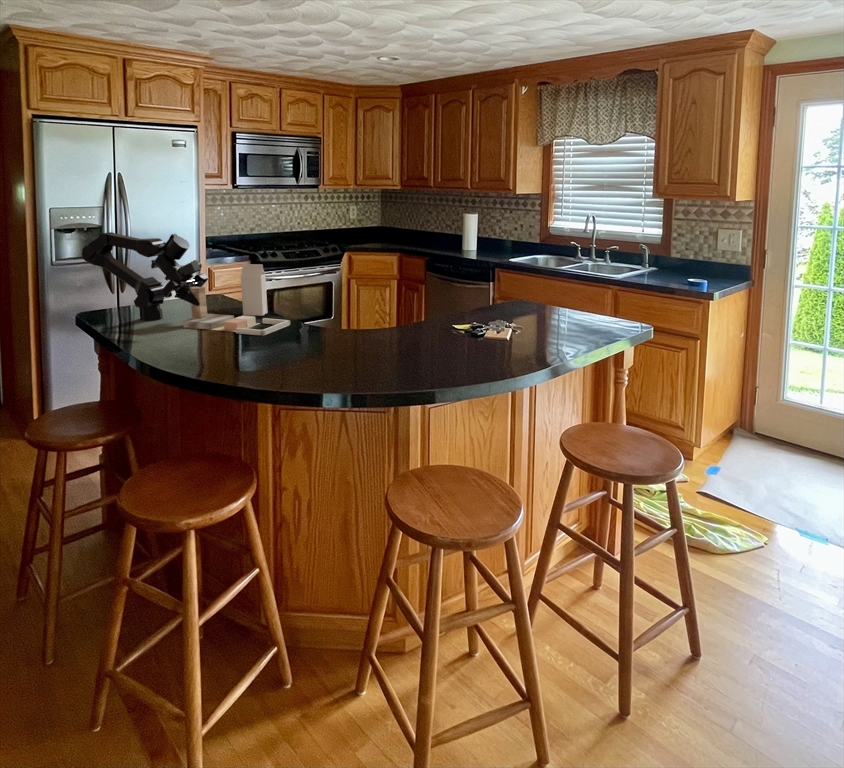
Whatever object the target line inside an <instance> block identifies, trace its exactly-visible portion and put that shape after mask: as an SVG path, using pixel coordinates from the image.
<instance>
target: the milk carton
mask: <svg viewBox="0 0 844 768" xmlns="http://www.w3.org/2000/svg"><path fill="white" fill-rule="evenodd" d="M241 266H242V269H241V274H240V287H241V288H240V289H241V302H242V316H258V317H259V316H265V314H268V299H267V282H266V281H267V280H266V272H265V270H264V265H263V264H262V263H261V264H260V263H259V264H258V263H257V264H256V263H255V264H254V263H253V264H250V263H248V264H247V263H245V264H244V263H243V264H242V265H241Z"/></svg>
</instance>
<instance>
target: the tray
mask: <svg viewBox="0 0 844 768" xmlns="http://www.w3.org/2000/svg"><path fill="white" fill-rule="evenodd" d="M262 324H267V325H272V326H268V327H267V328H263V329H256V328H247V329H246V328H236V332H235V333H236V334H242V335H253V336H266V335H269V334H271V333H274V332H277V331H278V330H281V329H284V328H286V327H289V326H291V320H290V319H276V318H267V317H263V318H262Z"/></svg>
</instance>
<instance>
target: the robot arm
mask: <svg viewBox="0 0 844 768" xmlns="http://www.w3.org/2000/svg"><path fill="white" fill-rule="evenodd" d="M190 246H191V245H190V243H189V241H188V240H187V239H185V238H183V237H182V236H179V235H178V234H176V233H172V234H170V236H169V238H168V240H167V241H166V242H165V241H163V239H161V238H159V237H158V238H156V237H155V238H153V237H152V238H151V237H150V238H140V237H139V238H138V237H133V236H128V235H123V234H120V233H119V234H118V233H115V232H113V231H110V232H103V233H101V234H100V235H99V236H98V237H96V239H94V240H92V241H91V242H89V243H88V244H87V245H85V246H83V247H82V251H81V256H82V259H83V260H84V261H85V262H86V263H89V264H90V265H92V266H96V267H101V268H103V269H105V270H107V271H108V272H109V273H111V274H112V275H114V276H115V277H117V279H120V280H121V281H123V282H124V283H125V284H127V285H128V286H129V287H131V288H133V289H134V291H135V295H136V297H135V299H134V300H133V304H134V306H135V307H136V308H138V310H139V311H138V312H139V319H140V321H144V322H145V321H149V322H152V321H160V320H162V319H164V318H163V317H164V316H163V315H164V314H163V309H162V308H161V304H162V305H163V304H164V300H165V298H166V299H167V298H168V299H169V298H171V297H172V296H173V292H175V295H174V298H175V299H179V300H182V301H186V302H187V303H189V304H190V305H191V304H194V305H196V306H199V305H200V303H199V302H198V300H197V299H196V298H195V296H194V295H193V294H192V292H191V291H190V288H193V287H204V285H205V284H206V283H207V281H208V280H209V277H208V275H207V274H206V273H199V274H195V273H197V272H201V271H202V267H203V265H202V263H201V262H200V261H199V260H198V259H194V260H193V261H190V262H189V263H186V264H185V265H184V264H179V263H178V262H177V261H180V260H181V258H183V256H184V255H185V253H186V252H187V251H188V249H189V248H190ZM114 247H117V248H122V249H126V250H132V251H135V252H137V254H138V255H140V256H143V257H146V258H154V257H156V258H155V259H152V260H151V261H150V262H151V264H150V265H151V266H150V267H151V269H156V268H158V269H160V271H161V272H162V273H163V274H164V276H165V277H164V280H165V281H167V283H166V284H165V285H163V282H161V281H160V280H157V279H156V278H155V277H154V276H150V277H142V275H140V274H138V273H137V272H136V271H134V270H133V269H131V268H130V267H128V266H127V265H125V264H124V263H123V262H121V261H119V260H118V259H116V258H115V257H114V256H113V253H112V251H113V250H114ZM176 260H177V261H176ZM194 274H195V275H194ZM207 303H208V302H207V300H206V304H207Z"/></svg>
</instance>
